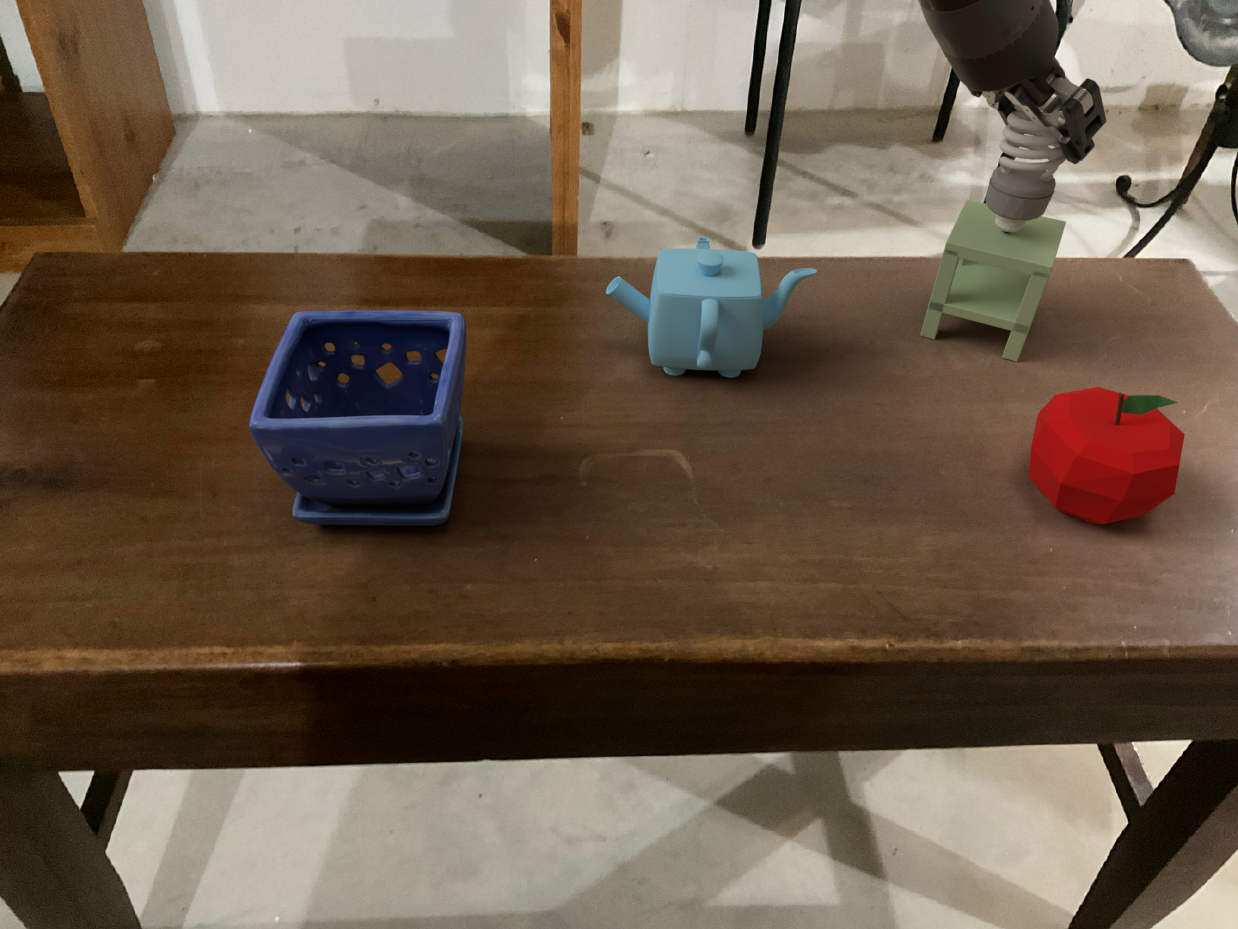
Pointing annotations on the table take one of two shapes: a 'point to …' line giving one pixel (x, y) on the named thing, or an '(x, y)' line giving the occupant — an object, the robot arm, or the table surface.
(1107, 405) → the apple
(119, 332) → the table surface
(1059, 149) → the light bulb
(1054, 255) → the green side table
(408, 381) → the flower pot
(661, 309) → the teapot
